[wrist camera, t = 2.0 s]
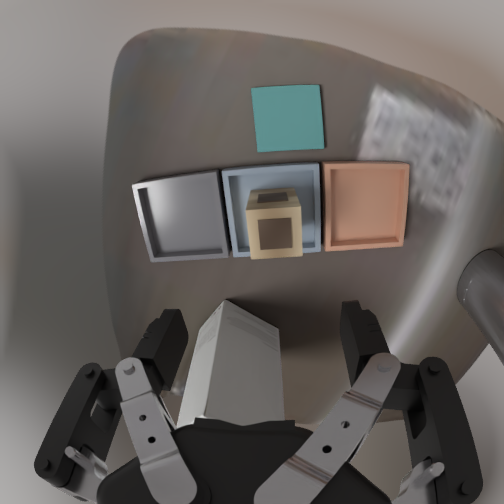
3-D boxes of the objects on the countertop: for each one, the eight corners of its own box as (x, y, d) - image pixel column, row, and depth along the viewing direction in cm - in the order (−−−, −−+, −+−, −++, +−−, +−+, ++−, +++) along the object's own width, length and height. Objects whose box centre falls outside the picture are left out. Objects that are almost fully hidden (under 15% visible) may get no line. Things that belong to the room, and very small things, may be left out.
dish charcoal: (219, 169, 25) (216, 171, 23) (230, 250, 29) (228, 257, 27) (138, 181, 26) (131, 184, 24) (155, 255, 29) (150, 262, 28)
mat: (318, 85, 21) (319, 84, 20) (323, 148, 23) (324, 148, 23) (251, 88, 21) (250, 88, 21) (257, 151, 24) (257, 152, 24)
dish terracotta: (402, 161, 23) (409, 164, 22) (397, 240, 27) (402, 246, 26) (321, 161, 24) (324, 163, 23) (322, 244, 28) (325, 251, 26)
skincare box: (199, 327, 34) (168, 434, 20) (227, 294, 31) (200, 414, 17) (252, 356, 36) (244, 460, 22) (284, 328, 33) (287, 443, 19)
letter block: (293, 186, 25) (301, 205, 19) (295, 227, 27) (302, 256, 21) (250, 189, 25) (245, 209, 20) (254, 230, 27) (251, 260, 22)
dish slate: (316, 161, 24) (318, 164, 23) (318, 245, 28) (320, 251, 26) (224, 168, 25) (221, 171, 23) (235, 250, 29) (233, 257, 27)
